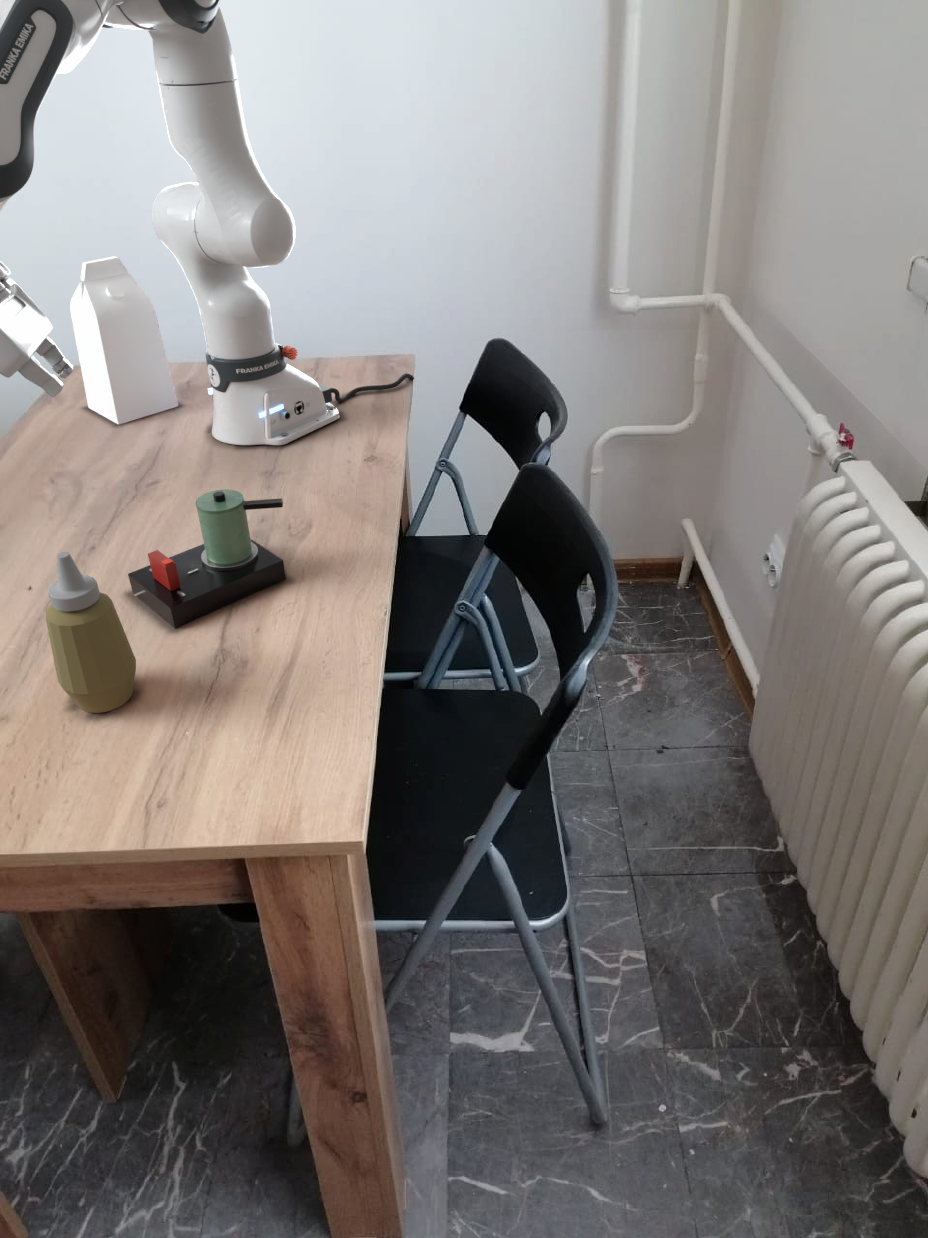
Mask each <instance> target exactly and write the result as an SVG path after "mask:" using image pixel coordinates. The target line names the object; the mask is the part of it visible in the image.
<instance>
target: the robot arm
mask: <svg viewBox="0 0 928 1238" xmlns="http://www.w3.org/2000/svg"><path fill="white" fill-rule="evenodd" d="M220 3H221V0H0V212H2V210H3V209H4V207H6V205H7V203H9V201H10V200H11V198H12V197H14V195H16V194H17V193H18V192H19V191H21V190H22V188H24V187H25V185H26V184H27V183H28V181H29V180H30V177H31V175H32V172H33V168H34V165H35V163H34V162H35V139H34V137H35V136H34V131H35V121H36V118H37V115H38V114H39V111H40V109H41V107H42V105H43V103H44V101H45V98H46V97H47V95H48V92H49V90H50V88H51V86H52V84H53V82H54V81H55V78H56V77H57V74H58V75H60V74H68V73H70V72H72V71H73V70H74V69H75V68H76V66H77V65H79V63H80V62H81V61H82V60H83V59H84V57H85V56H86V55H87V53H89V51H90V50H91V48H92V46H93V45H94V44H95V42H96V40H97V38H98V36H99V34H100V32H101V30H102V28H104V29H112V28H120V29H129V30H145V31H146V30H147V32H148V34H149V35H150V37H151V39H152V50H153V59H154V66H155V72H156V78H157V83H158V84H157V85H158V89H159V95H160V100H161V105H162V111H163V116H164V120H165V126H166V132H167V136H168V141H169V143H170V145H171V146H172V148H173V149H174V151H175V153H177V155H179V156H180V157H181V158H182V159H183V160H184V161H185V162H186V164H187V165H188V166H189V168H190V169H191V171H192V173H193V175H194V177H195V179H196V181H197V182H194V181H189V182H182V183H178V184H172V185H170V186H166V187H164V188H163V189H161V191H159V192H158V193H157V195H156V196H155V199H154V200H153V203H152V207H151V223H152V228H153V230H154V233H155V235H156V236H157V238H158V239H159V240H160V242H161V243H162V244H163V245H164V246H165V247H166V249H168V250H169V251H170V252H171V254H172V255H173V257H174V258H175V260H176V261H177V263H178V264H179V266H180V267H181V270H182V271H183V274H184V276H185V278H186V279H187V281H188V283H189V286H190V289H191V290H192V292H193V296H194V298H195V300H196V303H197V307H198V310H199V315H200V319H201V323H202V329H203V335H204V339H205V345H206V350H205V361H206V367H207V374H208V379H209V382H210V386H211V387H208V388H207V393H208V395H212V404H213V405H212V411H213V415H212V426H211V435H212V437H213V438H214V439H215V440H217V441H219V442H222V443H224V444H229V445H235V446H256V445H257V446H259V445H267V446H284V445H287V444H289V443H291V442H293V441H295V440H298V439H299V438H301V437H303V436H305V435H307V434H309V433H312V432H314V431H316V430H319V429H320V428H322V427H324V426H327V425H328V424H331V423H332V422H335V421H337V420H339V419H340V411H339V409H338V407H336V406H335V405H333V404H332V402H333V396H332V394H334V400H335V401H336V402H338V403H343V402H345V401H347V400H348V399H350V398H351V397H353V396H354V395H356V394H357V393H361V392H367V391H368V392H369V391H383V390H391V389H394V388H396V387H398V386H399V385H401V384H402V383H403V381H404V380H406V379H408V380H409V381H410V380H411V381H413V380H415V377H414V376H413V374H410V373H407V372H406V373H403V374H402V375H401V376H399V378H398V379H397V380H395V381H394V382H391V383H388V384H378V385H377V384H376V385H364V386H363V385H362V386H358V387H356V388H353V389H351V390H350V391H349V392H347V394H345V395H344V396H342V397H341V395H340V391H339V390H338V389H337V388H335V387H328V386H326V385H323V384H321V383H319V382H317V381H316V380H315V379H314V378H313V377H311V376H309V375H308V374H306V373H304V372H303V371H301V370H299V369H297V368H295V367H294V366H292V365H290V364H288V362H287V360H286V358H287V359H288V360H289V361H295V360H296V359H297V357H298V353H299V352H298V350H297V349H296V347H292V346H290V345H285V346H284V345H282V344H280V343H277V342H276V341H275V333H274V326H273V319H272V310H271V303H270V300H269V298H268V297H267V294H266V293H265V292H264V291H263V290H262V288H261V287H259V285H258V284H257V283H256V282H255V281H254V280H253V277H251V275H250V273H249V271H248V269H247V268H250V269H254V268H257V269H258V268H267V267H273V266H278V265H281V264H282V263H284V261H286V260H287V259H288V258H289V256H290V254H291V253H292V250H293V249H294V245H295V242H296V230H297V229H296V223H295V219H294V216H293V214H292V211H291V210H290V209H291V208H289V206H288V205H287V204H286V203H285V202H284V201H283V200H282V199H281V198H280V197H279V196H278V195H277V193H276V192H274V190H273V189H272V187H271V186H270V184H269V183H268V181H267V179H266V177H265V175H264V174H263V172H262V170H261V167H260V165H259V163H258V162H257V161H258V160H257V159H256V157H255V154H254V151H253V149H252V146H251V142H250V140H249V136H248V132H247V128H246V122H245V116H244V110H243V106H242V98H241V92H240V87H239V86H240V85H239V80H238V74H237V73H238V72H237V68H236V62H235V57H234V52H233V49H232V44H231V41H230V40H231V39H230V36H229V32H228V29H227V26H226V23H225V20H224V16H223V14H222V13H223V12H222V10H221V8H220ZM11 274H12V272H11V270H10V268H8V266H7V265H6V264H4V263H3V261H1V260H0V375H1V376H3V377H5V378H11V377H12V376H13V375H14V374H16V373H17V372H18V373H19V374H20V375H21V376H22V377H23V378H24V379H26V380H28V382H31V383H32V384H34V385H36V386H38V387H40V388H41V390H43V391H44V392H45V393H46V394H47V395H48V396H49V397H52V398H54V397H56V396H58V395H59V394H60V393H61V392H62V391H63V389H64V387H65V386H64V385H65V384H64V383H63V382H62V380H60V379H59V378H58V376H59V377H60V378H61V379H67V377H68V376H70V375H71V374H72V373H73V371H74V369H75V366H74V364H73V363H71V361H70V360H69V359H67V358H66V357H65V356H64V354H63V352H62V351H61V349H60V348H59V347H58V345H57V343H56V342H55V341H53V339H52V338H51V337H49V335H50V334H51V333H52V331H54V326H53V324H52V322H51V321H50V320H49V318H48V316H47V315H46V314H45V313H44V312H43V311H42V309H41V308H40V307H39V306H38V305H37V304H36V302H34V300H33V299H32V298H31V297H30V296H29V295H28V294H27V293H26V291H24V289H23V288H22V287H21V286H20V285H19V284H18V283H17V282H16V281H15V280H13V279H12V278H10V276H11ZM35 353H36V354H38V355H39V356H40V357H42V358H43V359H45V361H46V362H47V363H48V364H49V365H50V366H51V367H52V371H54V372H55V373H56V374H57V375H58V376H56V375H55V374H54V373H53V374H52V373H51V372H50V371H48V370H47V369H46V368H45V367H44V366H42V365H41V362H40V361H39V360H38V359H37V358H36V357H35V356H34V354H35Z"/></svg>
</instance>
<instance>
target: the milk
mask: <svg viewBox="0 0 928 1238" xmlns="http://www.w3.org/2000/svg"><path fill="white" fill-rule="evenodd" d="M79 279H80V281H79V282H78V285H77V287H76V288H75V290H74V292H73V295H72V296H71V299H70V303H69V313H70V317H71V323H72V329H73V334H74V339H75V345H76V349H77V355H78V360H79V366H80V371H81V376H82V381H83V388H84V393H85V397H86V402H87V407H88V409H90V410H91V411H94V412H95V413H97V414H98V415H100V416H102V417H104V418H106V419H107V420H109V421H110V422H113V423H115V424H117V426H119V425H123V424H126V423H128V422H132V421H135V420H139V419H142V418H145V417H148V416H151V415H154V414H159V413H161V412H164V411H167V410H168V411H169V410H170V409H174V408H177V407H179V401H178V398H177V393H176V390H175V385H174V382H173V377H172V373H171V370H170V366H169V361H168V357H167V354H166V350H165V346H164V342H163V336H162V333H161V330H160V326H159V321H158V317H157V314H156V310H155V306H154V305H153V302H152V300H151V299H150V298H149V296H148V294H146V292H145V290H143V289H142V287H141V286H140V284H139V283H138V282H137V281H136V280H135V278H134V277H133V276H132V274H130V272H129V270H128V269H127V268H126V266H125V264H124V263H123V262H122V260H121V259H120V258H119V257H118V256H113V255H112V256H109V257H104V258H98V259H94V260H93V259H92V260H88V261H84V262H82V264H81V272H80V278H79Z"/></svg>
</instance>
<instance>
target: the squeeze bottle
mask: <svg viewBox="0 0 928 1238" xmlns="http://www.w3.org/2000/svg"><path fill="white" fill-rule="evenodd" d="M56 566H57V567H56V568H57V569H56V570H57V572H56V573H57V580H56V581H55V582H53V583H52V584H51V585H50V586H49V588H48V596H49V601H50V603H51V604H50V605H49V607H47V609H46V611H45V622H46V627H47V632H48V637H49V642H50V648H51V654H52V659H53V664H54V668H55V674H56V678H57V679H56V680H57V683H58V684H59V686H60V687H61V688H62V690H63V691H64V692H65V693H66V694H67V695H68V696H69V697H70V699H71V700H72V701H73V702H74V704H75V705H76V706H77V707H78V708H79V709H80V710H81V711H84V712H86V713H94V714H100V713H106V712H111V711H114V710H116V709H118V708H120V707H122V706H123V705H124V704H125V703H127V702H128V701H129V700H130V698H131V697H132V695H133V694H134V687H135V686H134V685H135V678H136V672H137V658H136V656H135V653H134V651H133V648H132V646H131V644H130V642H129V640H128V639H129V638H128V637H127V635H126V632H125V629H124V627H123V624H122V621H121V619H120V617H119V615H118V612H117V610H116V608H115V605H114V602H113V600H112V598H111V597H110V596H109V595H108V594H106V593H103V592H101V591H100V588H99V585H98V582H97V580H96V578H95V577H93V576H91V575H88V574H82V573H81V571H80V569H79V567H78V566H77V564H76V562H75V561H74V559H73V557H72V556H71V554H70V552H68V551H63V552H62V551H61V552H59V553H58V554H57V555H56Z"/></svg>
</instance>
